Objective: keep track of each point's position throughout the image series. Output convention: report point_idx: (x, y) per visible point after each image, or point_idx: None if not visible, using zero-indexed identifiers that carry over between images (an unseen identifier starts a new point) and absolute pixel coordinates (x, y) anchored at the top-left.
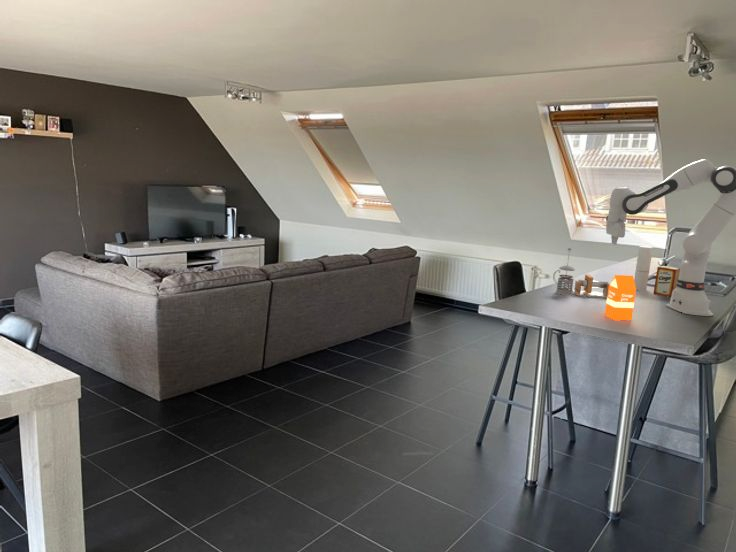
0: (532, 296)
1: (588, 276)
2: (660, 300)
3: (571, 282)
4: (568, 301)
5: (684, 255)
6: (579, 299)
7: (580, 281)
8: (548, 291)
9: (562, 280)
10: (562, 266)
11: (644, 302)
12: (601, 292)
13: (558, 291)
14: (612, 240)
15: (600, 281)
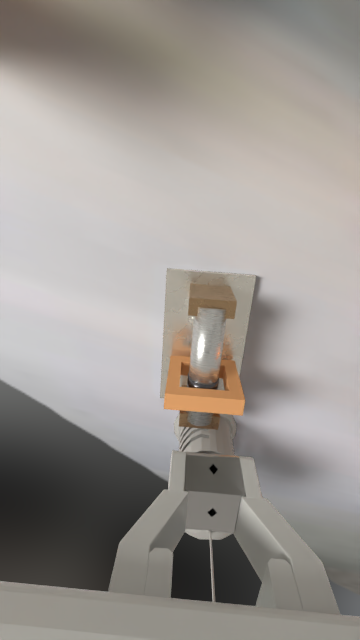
0: None
1: (219, 412)
2: (244, 4)
3: (231, 453)
4: (327, 448)
5: None
6: (292, 408)
7: (210, 419)
8: None
9: None
10: (204, 538)
11: (308, 144)
12: (170, 297)
13: (214, 452)
14: (185, 528)
15: (210, 343)
